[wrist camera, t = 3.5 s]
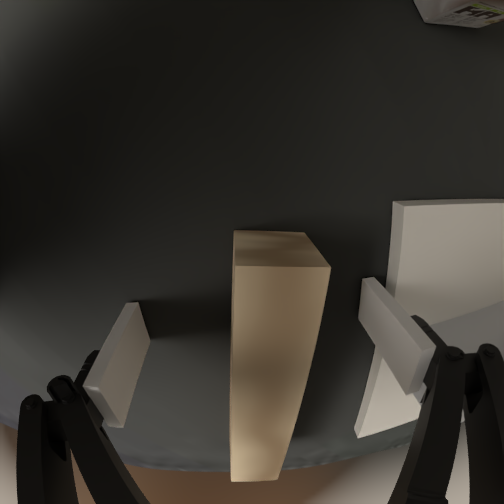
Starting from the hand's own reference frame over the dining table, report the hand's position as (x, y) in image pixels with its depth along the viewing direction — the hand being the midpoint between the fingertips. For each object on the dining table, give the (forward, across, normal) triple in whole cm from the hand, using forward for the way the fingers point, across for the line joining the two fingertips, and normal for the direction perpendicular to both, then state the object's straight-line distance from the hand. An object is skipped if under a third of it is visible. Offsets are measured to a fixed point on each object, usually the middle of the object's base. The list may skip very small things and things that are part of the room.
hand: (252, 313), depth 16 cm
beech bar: (+1, 0, -4) cm, 4 cm away
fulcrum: (0, +15, -4) cm, 16 cm away
